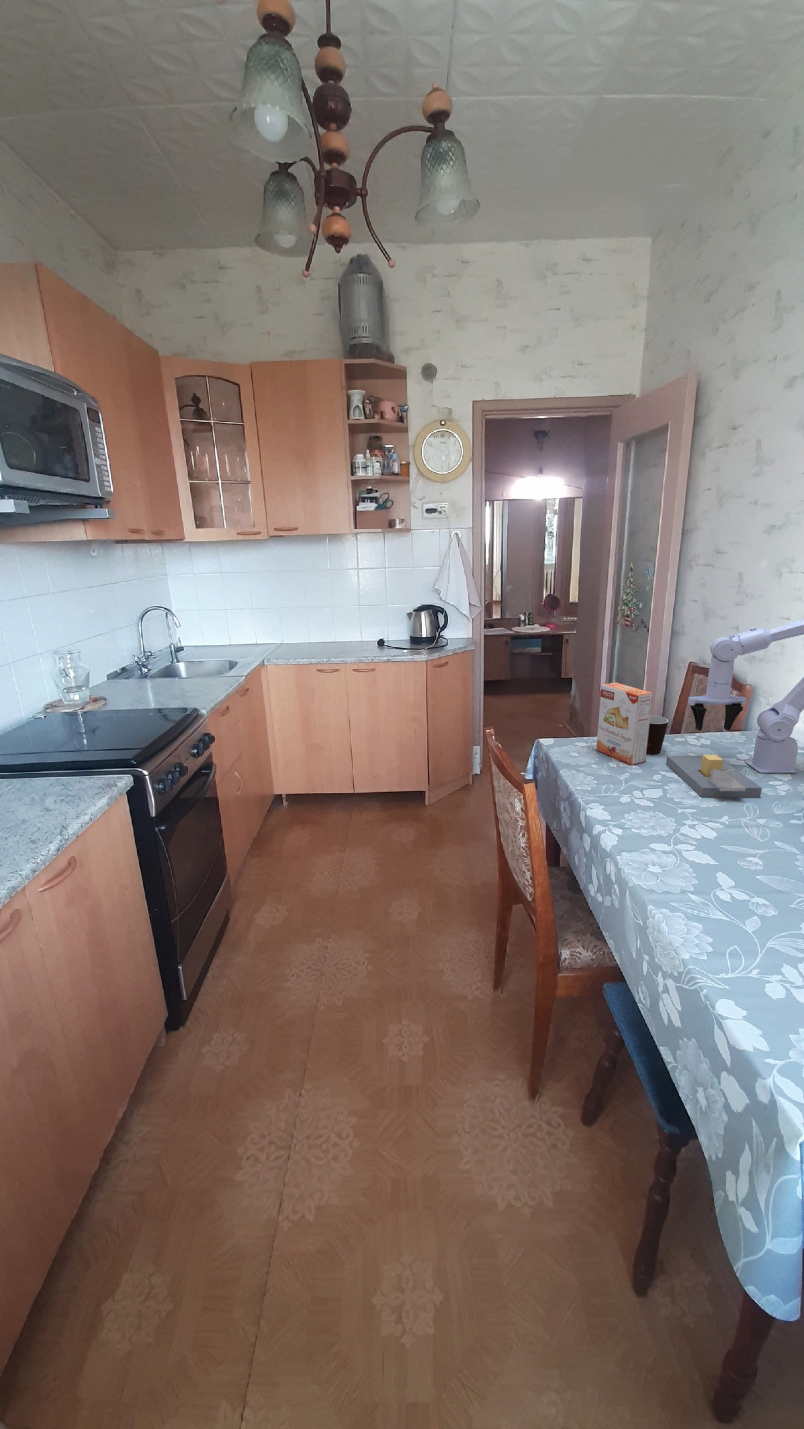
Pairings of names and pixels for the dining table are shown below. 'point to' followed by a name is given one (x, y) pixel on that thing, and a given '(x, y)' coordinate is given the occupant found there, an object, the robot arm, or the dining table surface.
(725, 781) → the panel
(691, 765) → the socket plate
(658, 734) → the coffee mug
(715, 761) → the plug
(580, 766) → the dining table surface
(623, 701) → the cracker box
